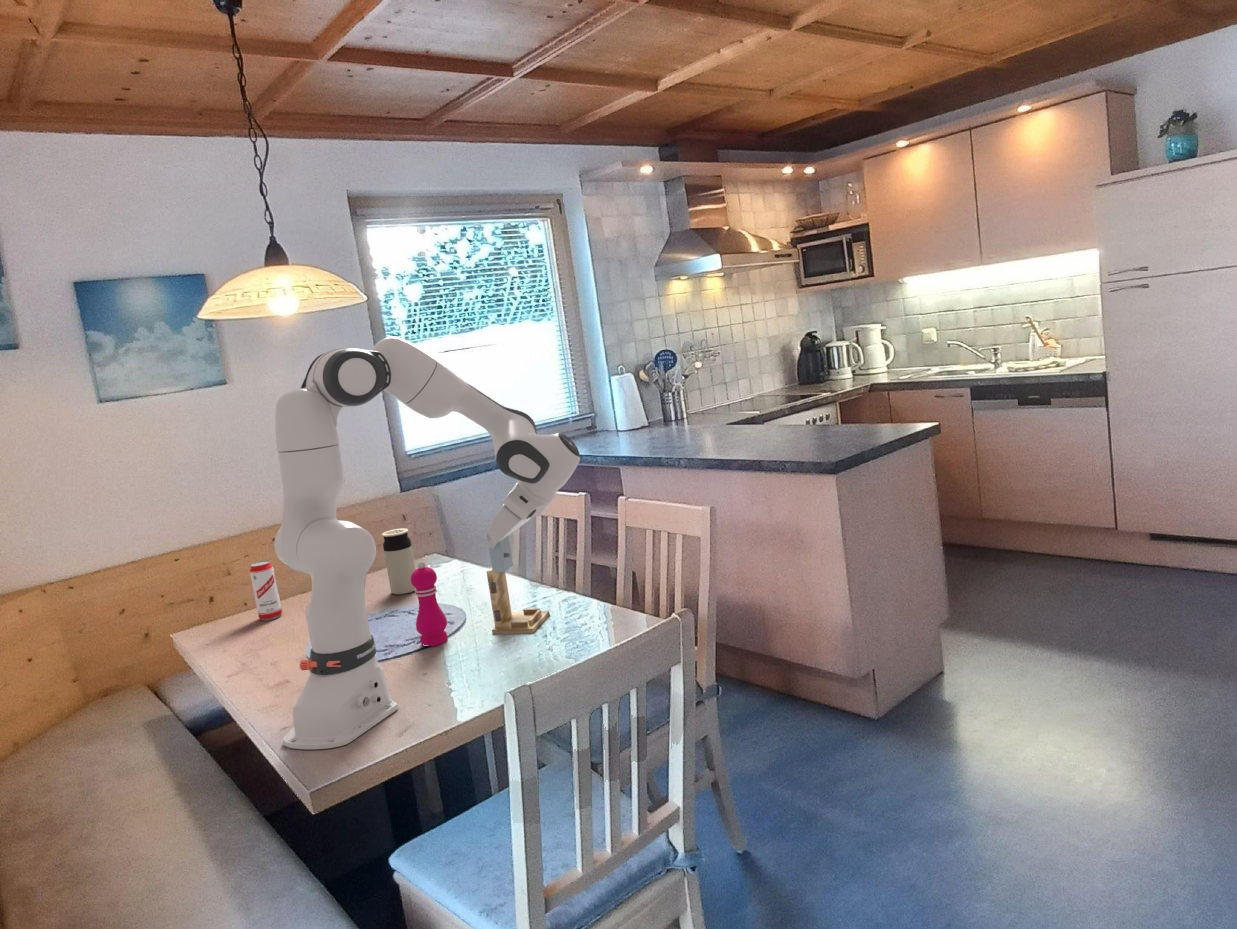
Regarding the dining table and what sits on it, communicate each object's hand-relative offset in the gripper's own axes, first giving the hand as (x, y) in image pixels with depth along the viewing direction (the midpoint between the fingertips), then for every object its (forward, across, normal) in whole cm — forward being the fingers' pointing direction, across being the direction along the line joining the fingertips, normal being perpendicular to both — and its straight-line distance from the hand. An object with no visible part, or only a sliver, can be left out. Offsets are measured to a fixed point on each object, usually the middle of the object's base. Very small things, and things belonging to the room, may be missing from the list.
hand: (496, 542), depth 190 cm
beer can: (+74, -21, -41) cm, 87 cm away
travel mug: (+52, -40, -18) cm, 68 cm away
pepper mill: (+30, +1, +3) cm, 31 cm away
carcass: (+17, -10, +16) cm, 25 cm away
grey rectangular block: (+4, 0, +5) cm, 6 cm away
